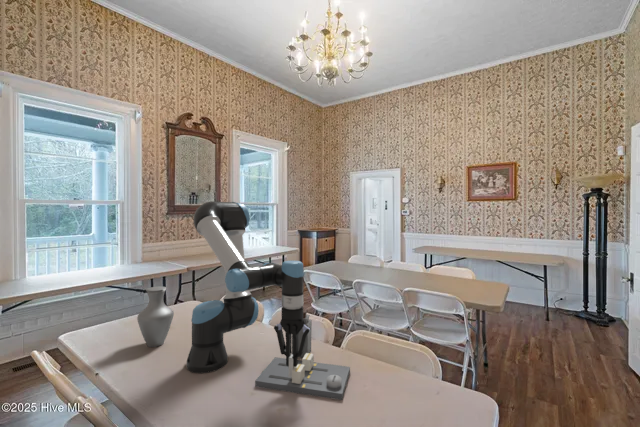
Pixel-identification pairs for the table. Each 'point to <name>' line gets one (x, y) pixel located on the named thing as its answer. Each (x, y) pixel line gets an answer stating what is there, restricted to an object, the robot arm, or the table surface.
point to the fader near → (298, 373)
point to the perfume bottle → (308, 341)
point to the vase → (155, 318)
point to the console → (306, 379)
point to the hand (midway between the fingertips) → (291, 375)
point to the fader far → (308, 361)
